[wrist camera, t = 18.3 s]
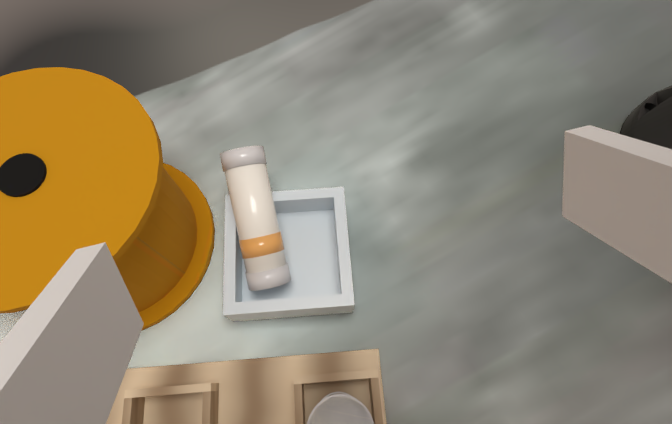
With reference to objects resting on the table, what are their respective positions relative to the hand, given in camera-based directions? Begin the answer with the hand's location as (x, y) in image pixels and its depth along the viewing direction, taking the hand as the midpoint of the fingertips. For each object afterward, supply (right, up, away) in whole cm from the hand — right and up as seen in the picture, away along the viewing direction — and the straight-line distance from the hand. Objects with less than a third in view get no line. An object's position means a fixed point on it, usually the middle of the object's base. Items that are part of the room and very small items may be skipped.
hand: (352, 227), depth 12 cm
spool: (-21, -3, +31) cm, 37 cm away
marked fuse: (-6, -6, +26) cm, 27 cm away
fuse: (0, -16, +23) cm, 28 cm away
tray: (-5, -4, +30) cm, 30 cm away
